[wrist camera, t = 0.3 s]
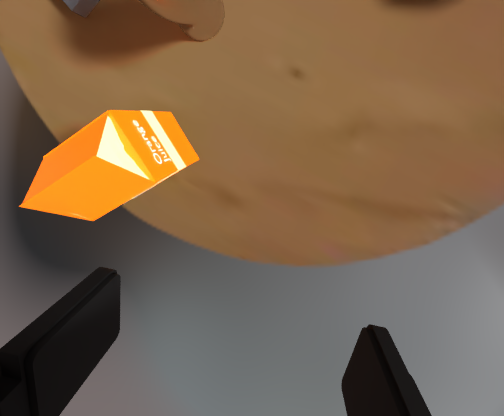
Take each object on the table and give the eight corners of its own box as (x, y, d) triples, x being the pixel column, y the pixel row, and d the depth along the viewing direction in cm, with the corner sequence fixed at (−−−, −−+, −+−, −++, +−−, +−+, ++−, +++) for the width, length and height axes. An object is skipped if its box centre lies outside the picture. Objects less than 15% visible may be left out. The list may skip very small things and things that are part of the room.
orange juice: (123, 142, 40) (-17, 165, 21) (170, 110, 38) (61, 105, 19) (153, 187, 42) (49, 246, 23) (200, 160, 40) (127, 199, 21)
